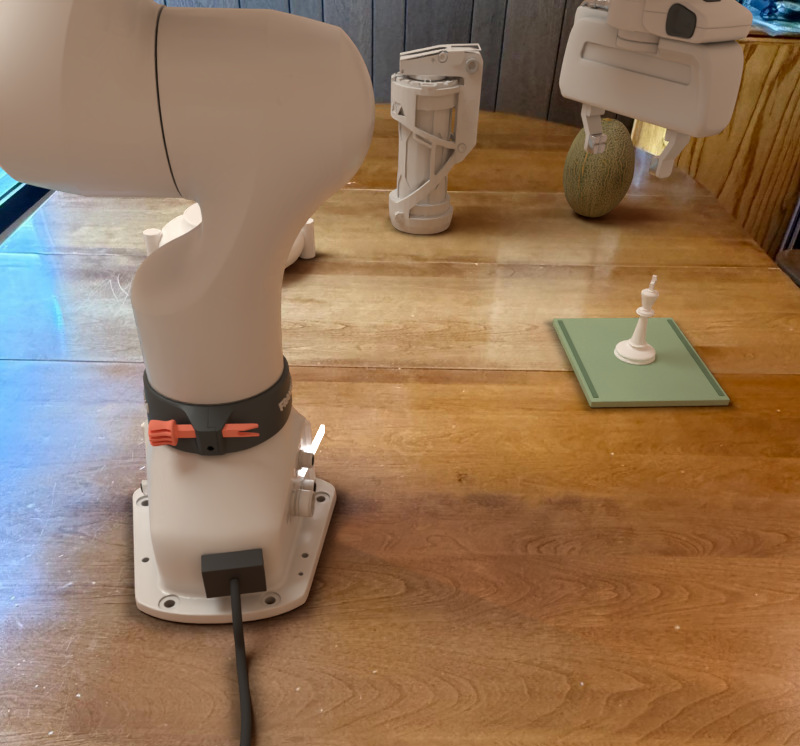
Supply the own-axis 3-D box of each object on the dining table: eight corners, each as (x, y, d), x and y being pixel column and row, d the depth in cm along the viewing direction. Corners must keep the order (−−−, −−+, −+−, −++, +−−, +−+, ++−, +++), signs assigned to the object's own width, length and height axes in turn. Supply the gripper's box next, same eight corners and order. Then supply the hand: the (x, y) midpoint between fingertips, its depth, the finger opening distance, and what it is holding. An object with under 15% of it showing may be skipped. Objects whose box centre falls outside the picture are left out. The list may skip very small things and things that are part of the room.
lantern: (388, 234, 122) (391, 51, 106) (388, 210, 130) (391, 36, 113) (469, 236, 123) (486, 54, 106) (465, 212, 131) (479, 39, 114)
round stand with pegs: (153, 305, 102) (142, 252, 97) (146, 236, 119) (137, 188, 114) (331, 289, 107) (329, 237, 103) (301, 225, 124) (298, 178, 120)
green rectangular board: (728, 405, 88) (730, 398, 87) (590, 407, 87) (591, 400, 86) (670, 322, 103) (672, 316, 102) (552, 323, 102) (553, 317, 101)
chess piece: (608, 358, 94) (627, 279, 87) (620, 341, 97) (638, 263, 90) (649, 369, 92) (671, 289, 85) (659, 351, 95) (681, 272, 89)
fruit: (636, 223, 129) (659, 125, 119) (578, 230, 126) (597, 130, 116) (599, 200, 137) (618, 106, 127) (544, 206, 134) (558, 110, 124)
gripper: (557, -7, 77) (537, 143, 86) (721, 23, 65) (678, 195, 74) (602, -10, 80) (579, 136, 89) (769, 19, 67) (722, 186, 76)
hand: (625, 163), depth 81 cm, fingers open, 8 cm apart
